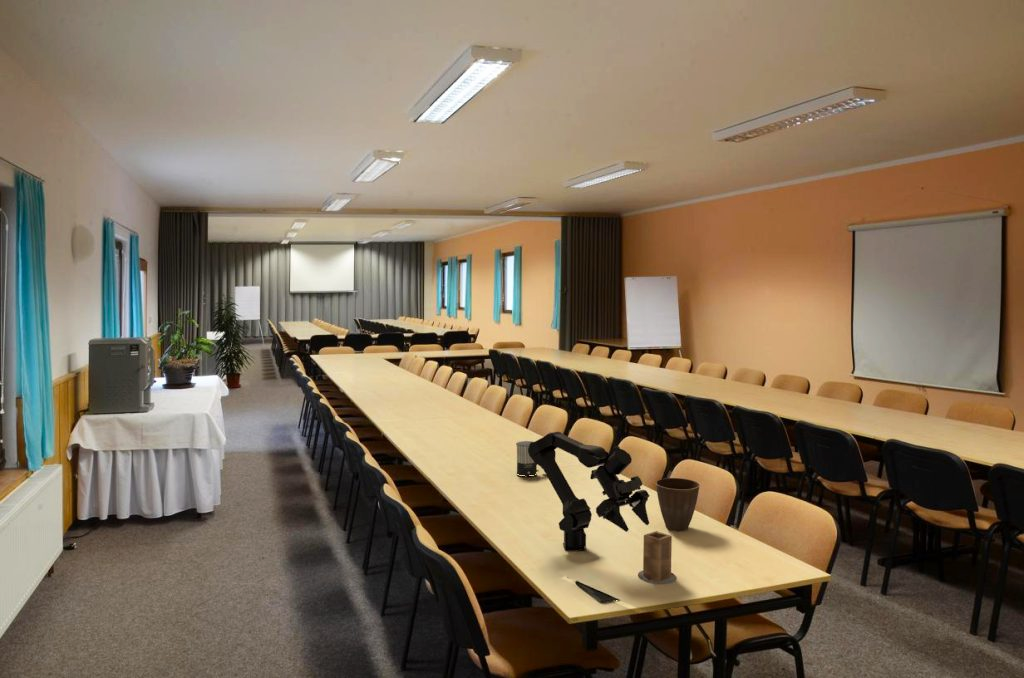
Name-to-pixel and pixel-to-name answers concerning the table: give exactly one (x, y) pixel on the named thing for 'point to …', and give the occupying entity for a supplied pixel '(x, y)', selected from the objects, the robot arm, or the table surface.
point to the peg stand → (666, 581)
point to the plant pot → (677, 501)
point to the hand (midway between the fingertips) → (638, 527)
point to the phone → (596, 593)
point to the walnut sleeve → (657, 556)
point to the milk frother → (525, 460)
